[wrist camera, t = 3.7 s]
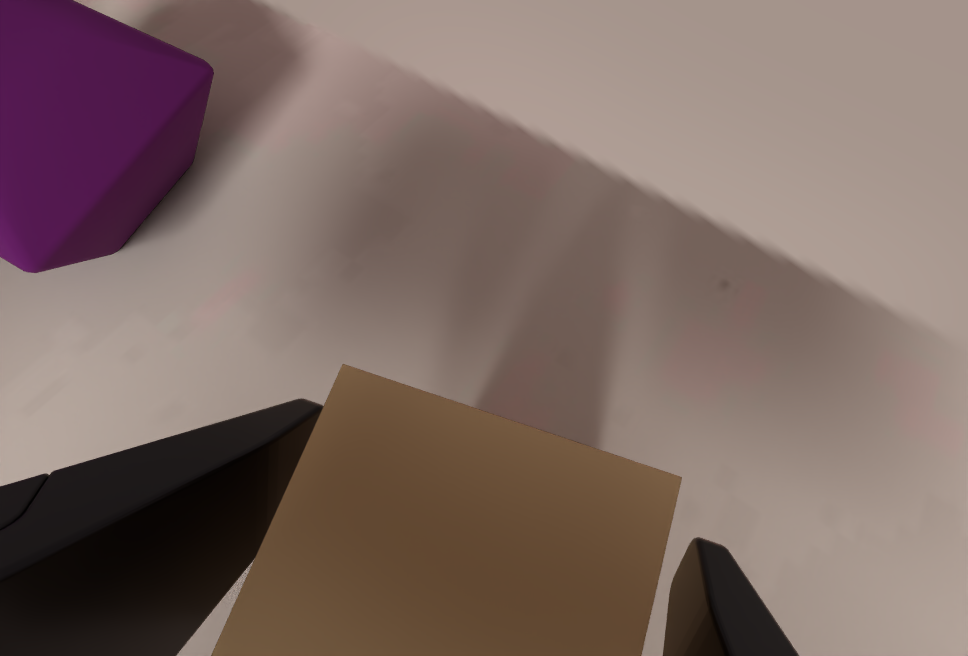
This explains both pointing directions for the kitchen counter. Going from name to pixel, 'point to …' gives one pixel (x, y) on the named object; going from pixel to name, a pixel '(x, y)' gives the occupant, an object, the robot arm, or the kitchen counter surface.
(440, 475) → the oak block
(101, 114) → the perfume bottle
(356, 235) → the kitchen counter surface
